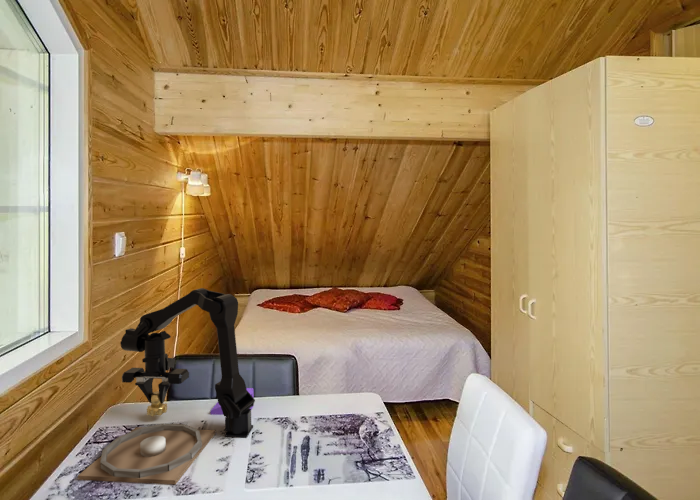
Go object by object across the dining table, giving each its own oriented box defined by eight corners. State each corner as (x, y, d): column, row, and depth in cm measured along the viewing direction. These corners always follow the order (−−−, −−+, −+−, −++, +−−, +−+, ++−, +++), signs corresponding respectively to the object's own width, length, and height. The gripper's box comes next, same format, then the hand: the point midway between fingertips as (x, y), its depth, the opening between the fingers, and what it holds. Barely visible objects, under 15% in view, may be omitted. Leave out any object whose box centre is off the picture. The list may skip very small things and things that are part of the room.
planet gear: (170, 408, 137) (169, 390, 136) (161, 416, 131) (160, 397, 130) (153, 408, 137) (152, 389, 137) (143, 416, 131) (142, 396, 131)
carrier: (215, 433, 125) (215, 421, 125) (175, 484, 101) (175, 470, 101) (135, 430, 127) (135, 418, 127) (78, 479, 103) (77, 465, 103)
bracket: (253, 406, 144) (253, 386, 143) (248, 416, 137) (247, 394, 136) (217, 406, 144) (217, 386, 143) (210, 415, 137) (210, 394, 137)
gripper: (195, 345, 140) (197, 393, 141) (140, 344, 141) (142, 391, 142) (179, 356, 129) (181, 407, 130) (119, 355, 130) (121, 406, 131)
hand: (156, 402), depth 134 cm, fingers closed on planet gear, 3 cm apart
